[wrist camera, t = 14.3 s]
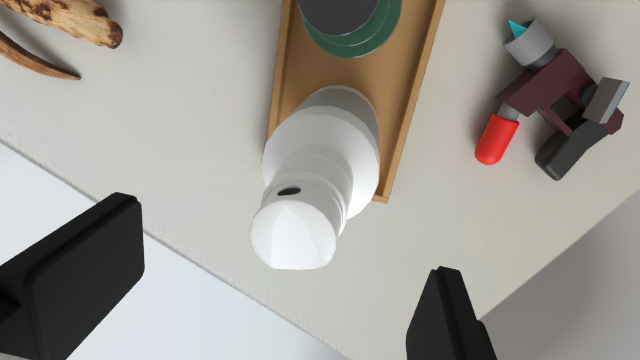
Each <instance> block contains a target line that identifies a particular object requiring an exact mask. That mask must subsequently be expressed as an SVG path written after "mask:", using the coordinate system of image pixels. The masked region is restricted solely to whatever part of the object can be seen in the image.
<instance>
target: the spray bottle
mask: <svg viewBox="0 0 640 360" xmlns="http://www.w3.org/2000/svg"><path fill="white" fill-rule="evenodd" d="M261 162H262V175H263V180H264V183H265V185H266V190H265V191H264V193H263V197H262V201H261V207H260V208H259V210H258V211H257V213H256V214H255V216H254V217H253V220H252V224H251V228H250V234H251V242H252V245H253V247H254V249H255V251H256V253H257V254H258V256H259V257H260V258H261V259H262V260H263V261H264V262H265V263H266V264H267V265H269V266H270V267H272V268H275V269H288V270H297V269H314V268H317V267H324V266H326V265H327V263H328V262H329V261H330V260H331V259H332V257H333V255H334V252H335V250H336V247H337V242H338V236H339V235H340V234H341V233H342V231H343V228H344V226H345V224H346V221H347V219H349V218H351V217H352V216H354V215H356V214H358V213H359V212H360V211H361V210H362V209H363V208H364V207H365V206H366V205H367V204H368V203H369V202H370V200H371V199H372V197H373V195H374V193H375V190H376V188H377V186H378V183H379V171H380V155H379V130H378V119H377V115H376V111H375V108H374V107H373V105H372V104H371V102H370V101H369V99H368V98H367V97H366V96H364V95H363V94H362V93H361V92H359V91H358V90H356V89H353V88H351V87H348V86H345V85H330V86H327V87H324V88H321V89H318V90H317V91H316V92H314V93H313V94H311V95H310V96H309V97H308V98H307V99H306V100H305V101H304V102H303V103H302V104H300V105H299V106H298V107H297V108H296V109H295V110H294V111H293V112H292V113H291V114H290V115H289V116H288V117H287V118H286V119H285V120H284V121H283V122H282V123H281V124H280V125H279V126H278V127H277V128H276V129H275V131H274V132H273V134H272V135H271V137H270V138H269V139H268V141H267V142H266V145H265V149H264V153H263V157H262V161H261Z"/></svg>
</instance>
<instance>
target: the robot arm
mask: <svg viewBox="0 0 640 360" xmlns="http://www.w3.org/2000/svg"><path fill="white" fill-rule="evenodd" d="M144 268H145V265H144V246H143V227H142V208H141V203H140V202H138V201H137V198H136V197H135V196H132V195H128V194H123V193H119V192H115V193H113V194H111V195H110V196H108V197H107V198H105V199H103V200H102V201H100V202H99V203H97V204H96V205H94V206H93V207H91V208H89V209H88V210H86V211H85V212H83V213H82V214H80V215H79V216H77V217H75V218H74V219H72V220H71V221H69V222H68V223H66V224H65V225H63V226H61V227H60V228H58V229H57V230H55V231H54V232H52V233H51V234H49V235H48V236H46V237H44V238H43V239H41V240H40V241H38V242H37V243H35V244H33V245H32V246H30V247H29V248H27V249H26V250H24V251H23V252H21V253H19V254H18V255H16V256H15V257H13V258H12V259H10V260H9V261H7V262H5V263H4V264H3V265H1V266H0V360H66V359H67V358H68V357H69V356H70V355H71V353H72V352H73V351H74V350H75V349H76V348H77V347H78V346H79V345H80V344H81V343H82V341H83V340H84V339H85V338H86V337H87V336H88V335H89V334H90V333H91V332H92V331H93V330H94V328H95V327H96V326H97V325H98V324H99V323H100V322H101V321H102V320H103V319H104V318H105V317H106V316H107V314H108V313H109V312H110V311H111V310H112V309H113V308H114V307H115V306H116V305H117V304H118V303H119V301H120V300H121V299H122V298H123V297H124V296H125V295H126V294H127V293H128V292H129V291H130V290H131V289H132V287H133V286H134V285H135V284H136V283H137V282H138V281H139V280H140V279H141V277H142V275H143V273H144ZM406 352H407V360H497V358H496V355H495V352H494V349H493V347H492V344H491V341H490V338H489V336H488V333H487V330H486V328H485V326H484V324H483V323H482V322H481V321H479V320H477V319H476V316H475V313H474V310H473V307H472V304H471V301H470V299H469V296H468V293H467V290H466V287H465V284H464V281H463V278H462V275H461V273H460V271H459V270H456V269H451V268H447V267H442V266H439V267H438V269H437V270H434V269H432V270H431V272H430V274H429V276H428V279H427V282H426V284H425V287H424V289H423V292H422V294H421V297H420V300H419V302H418V305H417V307H416V310H415V313H414V315H413V318H412V320H411V323H410V325H409V328H408V331H407V334H406Z"/></svg>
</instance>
